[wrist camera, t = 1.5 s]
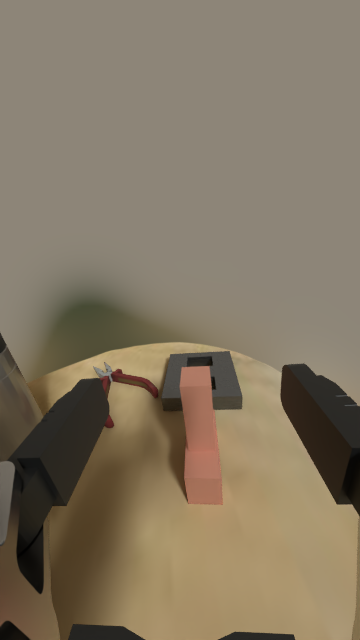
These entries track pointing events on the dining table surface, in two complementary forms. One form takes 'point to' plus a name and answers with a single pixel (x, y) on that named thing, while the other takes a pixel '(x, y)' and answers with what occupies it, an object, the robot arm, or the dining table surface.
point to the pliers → (126, 379)
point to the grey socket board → (221, 380)
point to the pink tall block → (200, 438)
